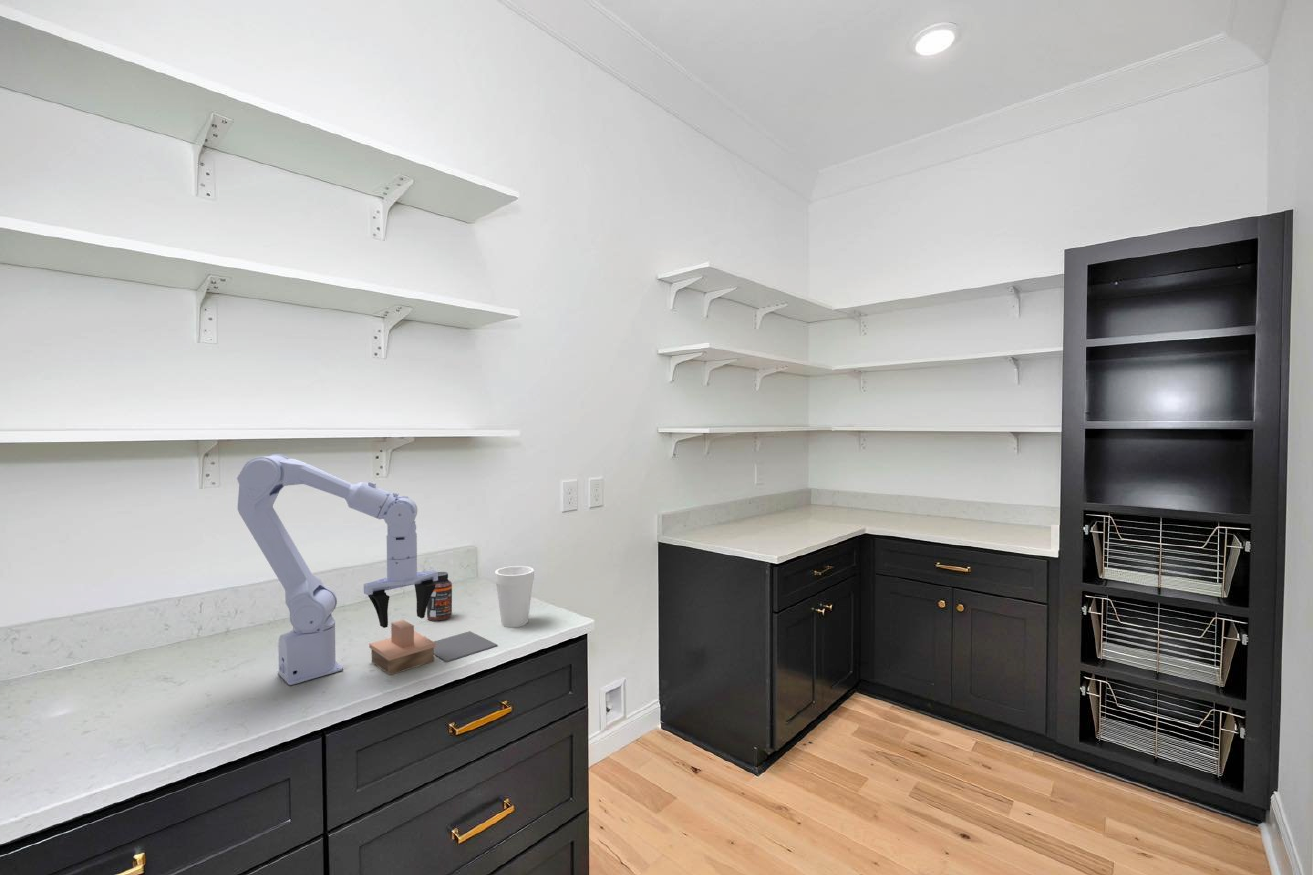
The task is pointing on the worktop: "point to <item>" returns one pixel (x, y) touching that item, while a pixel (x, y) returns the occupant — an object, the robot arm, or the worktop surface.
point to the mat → (461, 646)
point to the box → (403, 661)
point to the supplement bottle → (440, 599)
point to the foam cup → (514, 594)
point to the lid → (401, 642)
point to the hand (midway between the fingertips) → (402, 621)
